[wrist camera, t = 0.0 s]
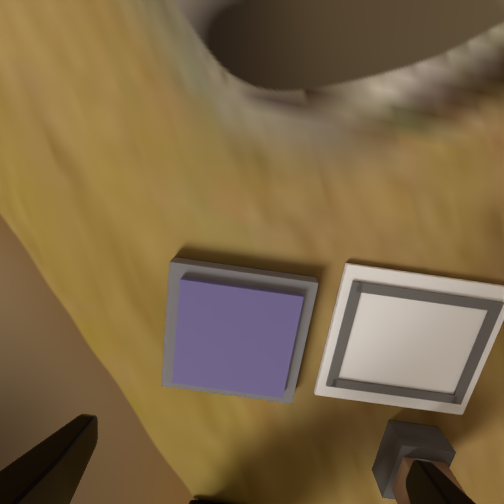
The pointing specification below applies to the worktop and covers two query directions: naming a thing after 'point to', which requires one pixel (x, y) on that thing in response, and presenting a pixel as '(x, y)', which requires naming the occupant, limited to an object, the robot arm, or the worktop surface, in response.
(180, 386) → the ink pad
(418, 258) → the worktop surface
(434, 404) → the marked card
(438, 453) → the stamp
